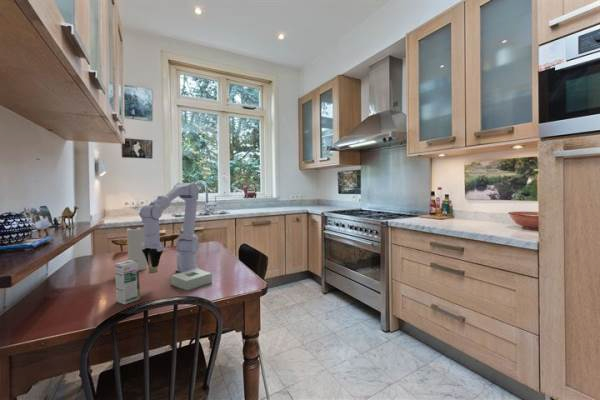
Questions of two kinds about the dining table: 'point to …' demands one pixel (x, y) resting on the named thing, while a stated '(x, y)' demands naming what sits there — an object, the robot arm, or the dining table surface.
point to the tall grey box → (136, 246)
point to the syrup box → (127, 281)
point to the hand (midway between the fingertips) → (153, 265)
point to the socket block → (191, 279)
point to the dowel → (151, 269)
